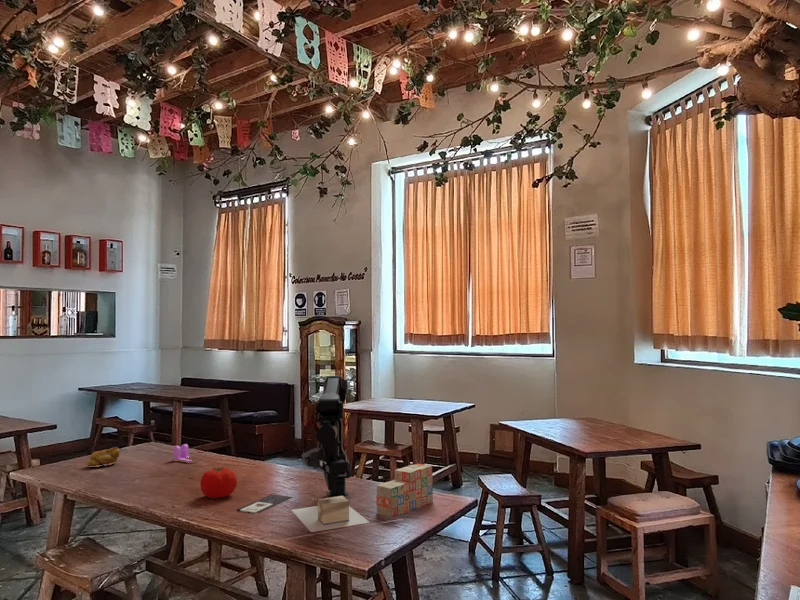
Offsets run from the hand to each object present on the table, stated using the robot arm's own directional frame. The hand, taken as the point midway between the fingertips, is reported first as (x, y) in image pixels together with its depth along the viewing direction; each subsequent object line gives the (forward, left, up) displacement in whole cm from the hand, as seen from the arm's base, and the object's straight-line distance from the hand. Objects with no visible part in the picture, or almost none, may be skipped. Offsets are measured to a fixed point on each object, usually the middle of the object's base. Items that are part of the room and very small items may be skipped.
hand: (330, 489), depth 178 cm
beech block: (+3, 0, -2) cm, 4 cm away
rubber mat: (-2, 0, -9) cm, 9 cm away
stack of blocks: (+2, +25, -9) cm, 27 cm away
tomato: (-41, -28, -9) cm, 50 cm away
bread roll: (-116, -68, -9) cm, 134 cm away
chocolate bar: (-24, -15, -9) cm, 30 cm away
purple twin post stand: (-106, -33, -9) cm, 112 cm away
